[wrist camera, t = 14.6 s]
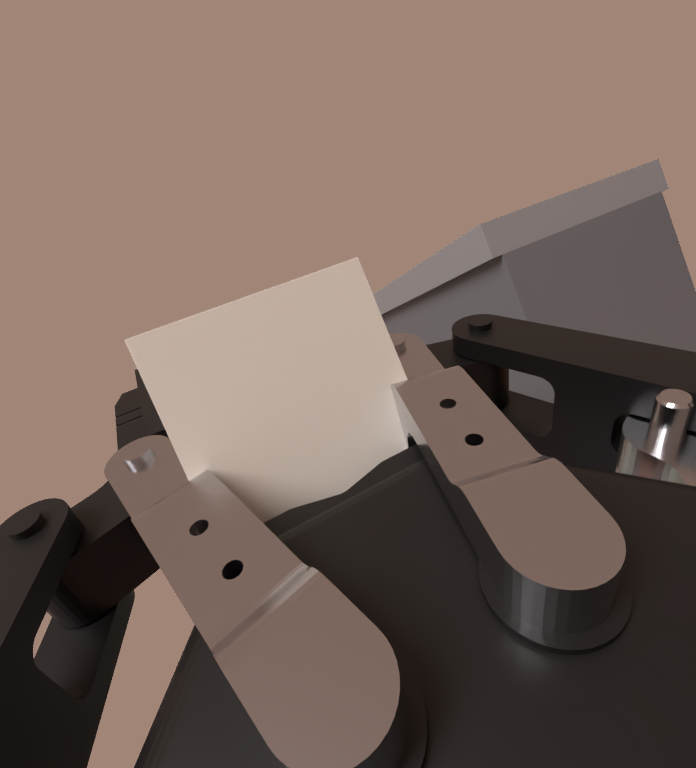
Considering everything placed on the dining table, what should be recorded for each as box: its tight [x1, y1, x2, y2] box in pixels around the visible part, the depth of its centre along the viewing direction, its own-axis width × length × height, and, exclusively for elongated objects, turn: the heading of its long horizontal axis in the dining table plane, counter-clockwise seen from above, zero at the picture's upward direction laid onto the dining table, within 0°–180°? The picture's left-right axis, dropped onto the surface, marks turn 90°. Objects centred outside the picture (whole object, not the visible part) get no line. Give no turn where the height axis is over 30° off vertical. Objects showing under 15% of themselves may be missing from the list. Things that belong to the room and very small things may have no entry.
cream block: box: [124, 257, 408, 523], centre depth 19 cm, size 4×25×4 cm, turn 19°
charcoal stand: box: [373, 159, 696, 463], centre depth 29 cm, size 11×16×32 cm
